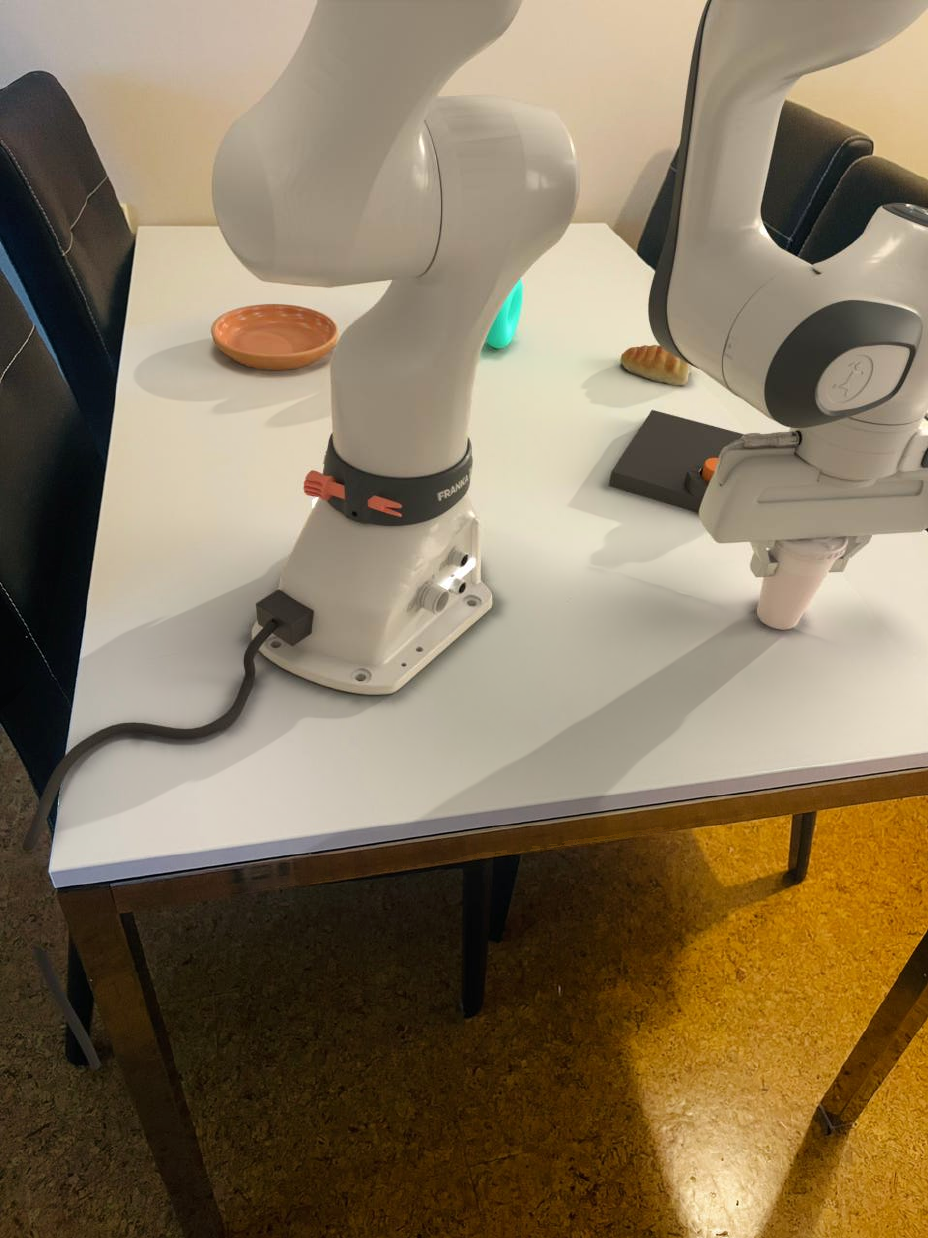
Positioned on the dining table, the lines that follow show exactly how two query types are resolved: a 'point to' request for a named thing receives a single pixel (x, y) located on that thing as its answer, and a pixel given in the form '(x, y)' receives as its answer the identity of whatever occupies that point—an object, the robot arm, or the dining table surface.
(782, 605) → the smoothie
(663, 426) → the scale
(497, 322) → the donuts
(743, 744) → the dining table surface
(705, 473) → the button
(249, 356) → the saucer
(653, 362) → the pastry
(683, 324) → the robot arm
